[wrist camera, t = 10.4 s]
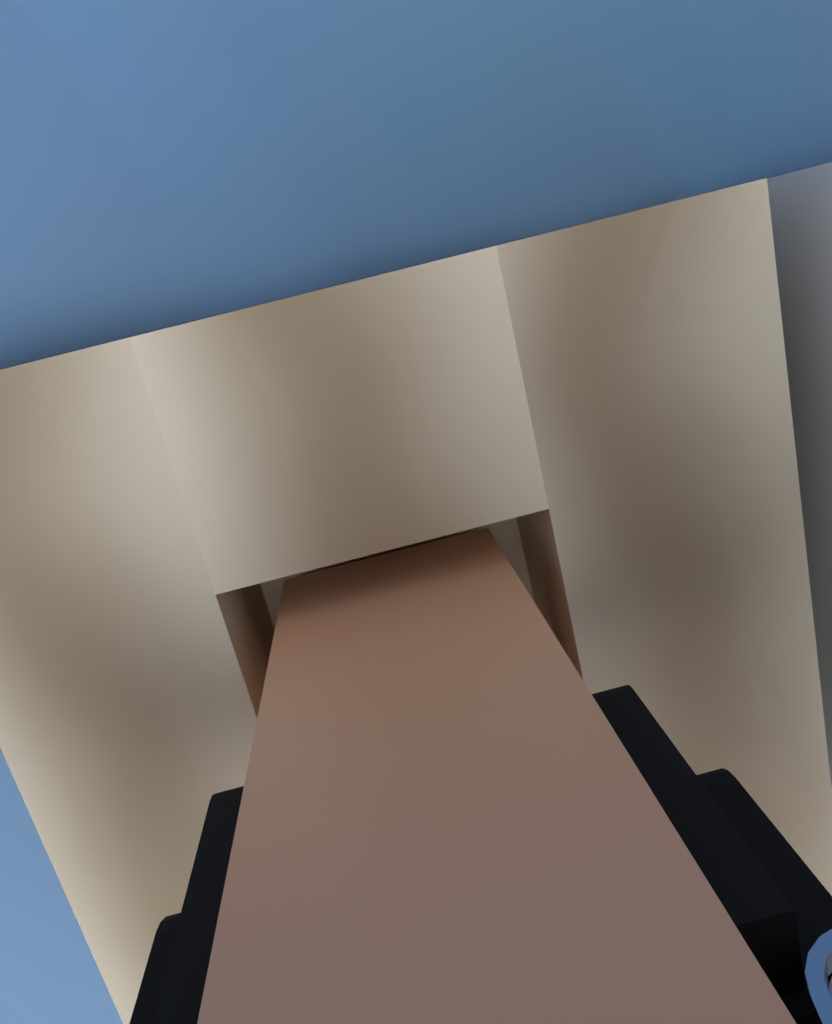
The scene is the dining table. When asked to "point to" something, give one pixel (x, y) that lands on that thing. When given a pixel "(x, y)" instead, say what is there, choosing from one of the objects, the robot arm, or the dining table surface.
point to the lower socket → (406, 522)
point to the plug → (455, 825)
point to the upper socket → (810, 377)
